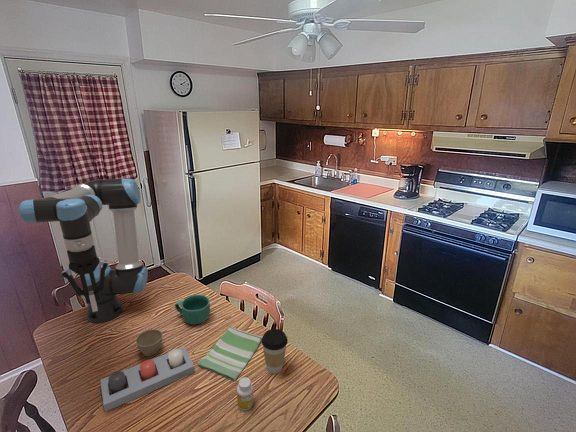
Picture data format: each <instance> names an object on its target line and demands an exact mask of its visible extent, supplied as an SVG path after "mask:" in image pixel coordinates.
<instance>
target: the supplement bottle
mask: <svg viewBox="0 0 576 432" xmlns="http://www.w3.org/2000/svg"><path fill="white" fill-rule="evenodd" d="M236 397H237V399H236V400H237V401H236V402H237V407H238V408H239V409H240V410H242V411H247V410H250V409H251V408H252V407H253V405H254V386H253V384H252V382H251V378H248V377H242V378H240V379H239V381H238V385H237V387H236Z"/></svg>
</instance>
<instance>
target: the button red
mask: <svg viewBox="0 0 576 432" xmlns="http://www.w3.org/2000/svg"><path fill="white" fill-rule="evenodd" d="M139 364H140V372H141V376H140V378H141V382H143V381H145V380H148V379H150V378H152V377H155V376H157V375H158V373H157V370H156V368H155V362H154V361H153V360H152V359H146V360H144V361H143V362H141V363H139Z"/></svg>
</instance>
